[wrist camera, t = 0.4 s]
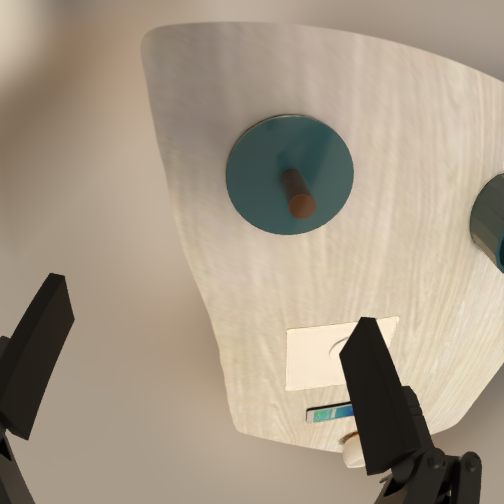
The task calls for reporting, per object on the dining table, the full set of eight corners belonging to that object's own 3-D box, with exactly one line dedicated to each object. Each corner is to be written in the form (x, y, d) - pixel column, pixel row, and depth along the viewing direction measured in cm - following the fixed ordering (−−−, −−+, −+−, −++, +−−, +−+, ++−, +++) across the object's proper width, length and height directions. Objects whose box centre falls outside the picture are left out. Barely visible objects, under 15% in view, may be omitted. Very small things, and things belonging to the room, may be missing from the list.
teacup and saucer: (365, 361, 57) (370, 377, 54) (326, 366, 57) (330, 384, 54) (374, 332, 52) (380, 349, 49) (331, 338, 52) (336, 356, 49)
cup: (352, 427, 77) (358, 456, 69) (385, 425, 79) (392, 452, 71) (333, 443, 83) (337, 470, 75) (365, 441, 85) (370, 466, 77)
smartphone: (307, 411, 66) (368, 400, 65) (306, 408, 67) (368, 398, 66) (306, 423, 70) (363, 414, 70) (306, 421, 71) (363, 411, 70)
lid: (209, 134, 33) (200, 155, 26) (338, 101, 31) (365, 114, 24) (246, 242, 41) (248, 283, 34) (357, 214, 39) (380, 250, 32)
